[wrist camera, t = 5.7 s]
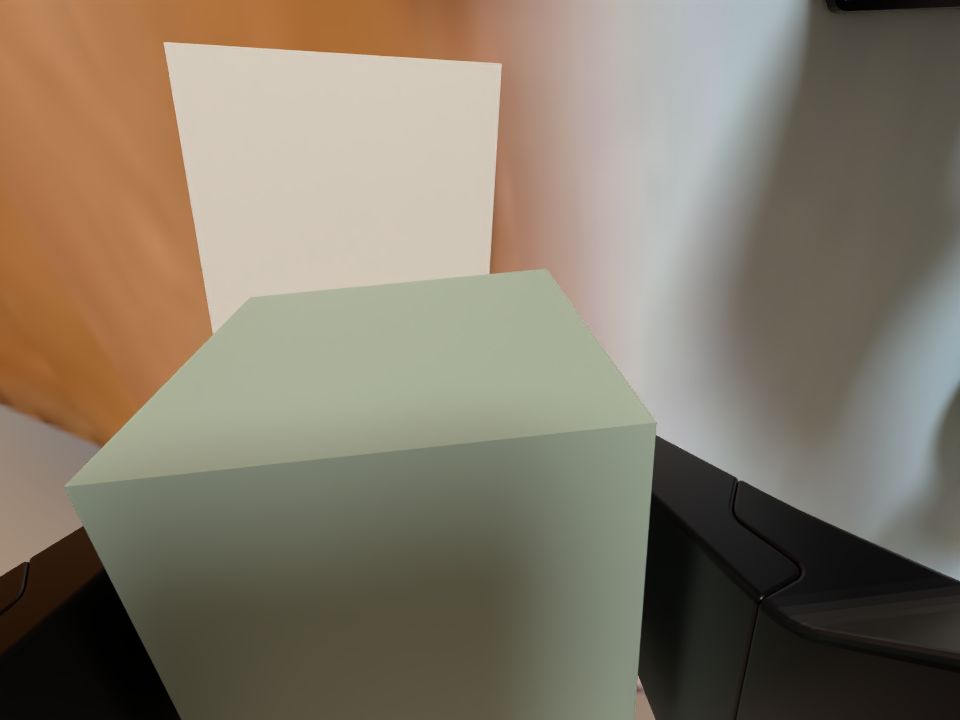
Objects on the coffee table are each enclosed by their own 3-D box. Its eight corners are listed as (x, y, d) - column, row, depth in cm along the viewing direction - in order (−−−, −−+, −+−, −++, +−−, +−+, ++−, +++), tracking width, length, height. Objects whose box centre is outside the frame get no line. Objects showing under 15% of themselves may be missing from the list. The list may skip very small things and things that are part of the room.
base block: (486, 74, 17) (501, 63, 13) (475, 312, 20) (484, 356, 17) (223, 57, 16) (163, 42, 13) (256, 308, 20) (216, 353, 16)
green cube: (546, 268, 9) (656, 422, 5) (551, 500, 11) (631, 760, 7) (249, 297, 9) (63, 488, 4) (312, 528, 11) (230, 814, 7)
